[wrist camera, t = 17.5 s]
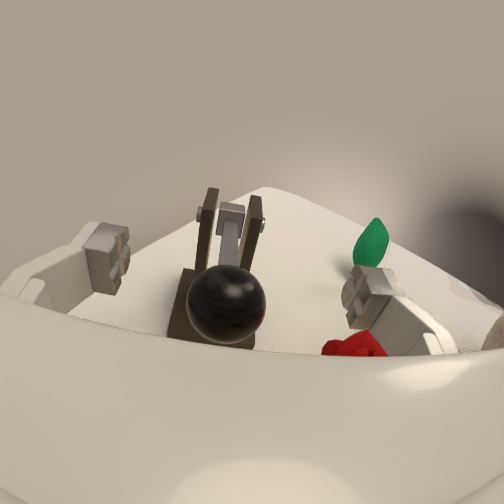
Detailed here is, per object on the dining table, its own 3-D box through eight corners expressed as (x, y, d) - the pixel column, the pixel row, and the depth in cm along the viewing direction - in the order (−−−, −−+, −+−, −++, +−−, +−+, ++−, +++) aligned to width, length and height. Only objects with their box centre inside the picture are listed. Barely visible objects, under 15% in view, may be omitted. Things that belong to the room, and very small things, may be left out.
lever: (259, 364, 12) (279, 296, 11) (178, 353, 12) (184, 282, 10) (245, 236, 28) (253, 200, 27) (209, 230, 28) (215, 193, 26)
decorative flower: (415, 288, 45) (443, 243, 39) (407, 442, 22) (472, 398, 16) (347, 255, 48) (370, 207, 43) (293, 400, 25) (336, 343, 19)
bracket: (252, 350, 29) (290, 243, 21) (167, 337, 28) (169, 222, 20) (252, 286, 37) (279, 188, 29) (183, 275, 36) (193, 173, 28)
